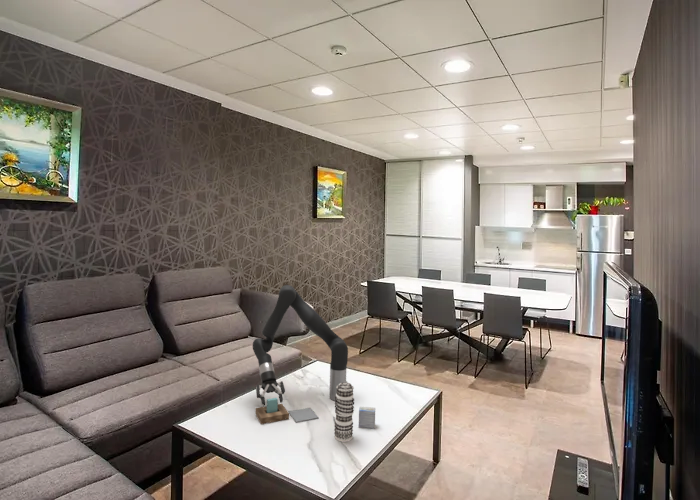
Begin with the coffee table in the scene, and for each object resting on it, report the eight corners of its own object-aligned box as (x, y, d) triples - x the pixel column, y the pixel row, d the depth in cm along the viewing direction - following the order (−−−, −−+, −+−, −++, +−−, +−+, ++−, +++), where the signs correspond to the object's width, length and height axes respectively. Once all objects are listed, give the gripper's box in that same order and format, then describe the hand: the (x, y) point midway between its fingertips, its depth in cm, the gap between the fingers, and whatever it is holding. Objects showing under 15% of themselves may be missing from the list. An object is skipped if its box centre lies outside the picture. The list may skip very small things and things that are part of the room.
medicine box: (375, 424, 207) (375, 407, 206) (374, 428, 202) (375, 411, 202) (359, 423, 207) (359, 406, 207) (358, 427, 203) (358, 410, 202)
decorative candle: (330, 439, 191) (331, 386, 189) (338, 430, 200) (339, 379, 198) (348, 443, 188) (350, 389, 186) (356, 434, 196) (357, 382, 194)
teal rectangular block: (276, 414, 213) (276, 397, 213) (277, 416, 212) (277, 399, 211) (266, 416, 211) (266, 399, 211) (267, 418, 209) (267, 400, 209)
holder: (281, 409, 220) (282, 403, 220) (288, 419, 209) (289, 413, 209) (255, 413, 214) (255, 408, 213) (261, 424, 203) (261, 418, 203)
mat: (310, 408, 221) (310, 407, 221) (318, 418, 211) (318, 417, 211) (288, 412, 216) (288, 411, 216) (295, 422, 205) (295, 421, 205)
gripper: (255, 372, 213) (260, 402, 204) (282, 368, 220) (288, 398, 210) (252, 378, 219) (257, 408, 209) (279, 374, 225) (284, 404, 215)
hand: (272, 403), depth 210 cm, fingers open, 8 cm apart
